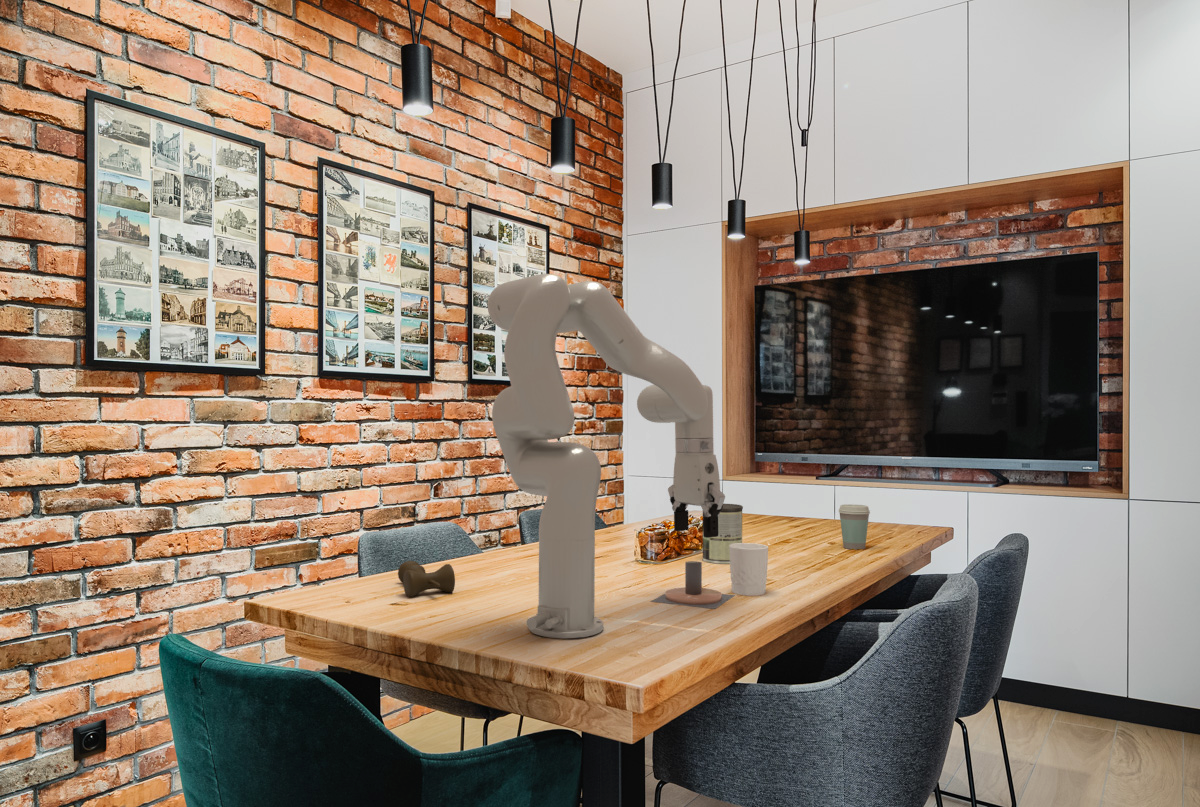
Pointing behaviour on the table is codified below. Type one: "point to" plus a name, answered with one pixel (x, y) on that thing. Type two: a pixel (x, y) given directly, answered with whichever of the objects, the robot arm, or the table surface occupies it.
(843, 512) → the coffee cup
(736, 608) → the table surface
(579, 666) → the table surface
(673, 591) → the lid
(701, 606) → the mat
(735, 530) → the coffee can
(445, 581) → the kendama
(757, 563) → the white cup
